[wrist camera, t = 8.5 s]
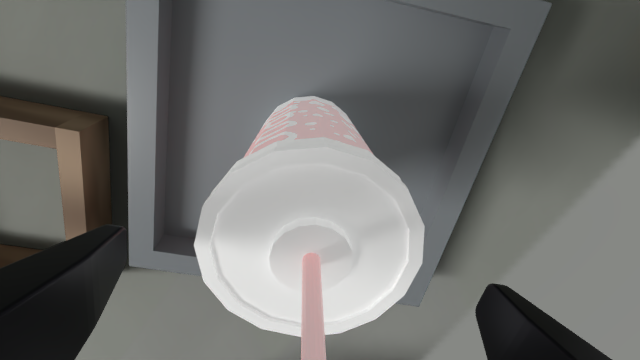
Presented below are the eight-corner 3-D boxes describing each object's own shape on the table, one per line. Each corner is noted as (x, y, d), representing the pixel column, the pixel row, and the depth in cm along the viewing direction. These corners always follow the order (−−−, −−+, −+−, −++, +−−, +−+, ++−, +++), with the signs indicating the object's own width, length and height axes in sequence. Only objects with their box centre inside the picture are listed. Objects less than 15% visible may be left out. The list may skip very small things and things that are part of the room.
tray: (407, 277, 23) (419, 306, 21) (148, 238, 21) (129, 265, 19) (518, 4, 16) (552, 2, 14) (152, -91, 14) (124, -109, 12)
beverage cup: (354, 62, 16) (534, 252, 3) (381, 180, 19) (540, 536, 6) (226, 99, 17) (-25, 385, 4) (269, 209, 19) (201, 596, 7)
